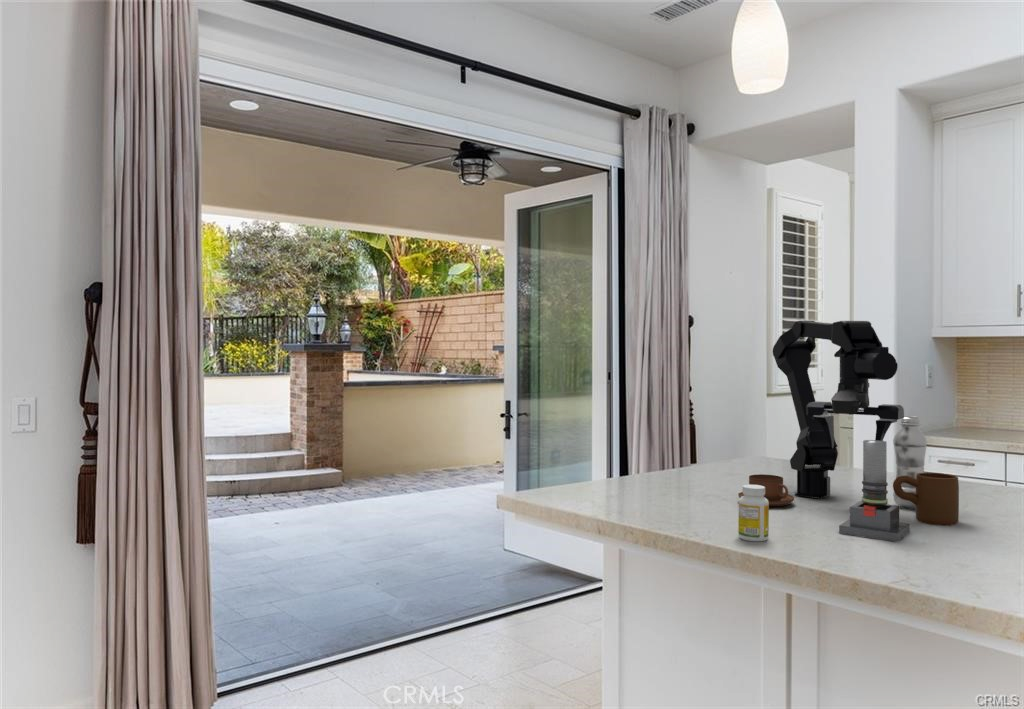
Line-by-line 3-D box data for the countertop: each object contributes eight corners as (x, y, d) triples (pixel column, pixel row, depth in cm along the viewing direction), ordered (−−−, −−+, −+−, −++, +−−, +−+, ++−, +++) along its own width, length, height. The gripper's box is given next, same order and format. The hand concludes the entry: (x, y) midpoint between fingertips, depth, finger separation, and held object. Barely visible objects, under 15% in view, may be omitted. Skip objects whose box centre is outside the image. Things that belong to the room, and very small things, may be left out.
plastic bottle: (932, 511, 161) (932, 418, 160) (897, 510, 162) (898, 418, 162) (921, 505, 167) (922, 416, 167) (889, 504, 168) (889, 415, 168)
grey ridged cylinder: (859, 503, 142) (859, 441, 142) (865, 499, 145) (865, 439, 145) (884, 506, 139) (884, 443, 139) (890, 502, 142) (890, 441, 142)
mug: (898, 524, 149) (898, 477, 149) (887, 515, 157) (888, 471, 157) (964, 527, 146) (964, 479, 146) (951, 518, 154) (951, 473, 154)
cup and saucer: (802, 503, 169) (802, 476, 169) (781, 512, 160) (781, 484, 160) (751, 496, 177) (751, 470, 177) (729, 504, 168) (729, 477, 168)
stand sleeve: (839, 533, 142) (839, 504, 141) (854, 523, 149) (854, 496, 149) (896, 541, 135) (897, 511, 135) (909, 531, 143) (909, 502, 143)
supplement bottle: (748, 542, 135) (748, 489, 135) (732, 535, 140) (732, 484, 140) (774, 540, 136) (774, 488, 136) (758, 533, 141) (758, 483, 141)
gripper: (797, 378, 162) (797, 450, 162) (891, 380, 150) (891, 458, 150) (814, 376, 171) (814, 445, 171) (904, 378, 159) (904, 452, 159)
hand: (853, 449), depth 162 cm, fingers open, 9 cm apart
